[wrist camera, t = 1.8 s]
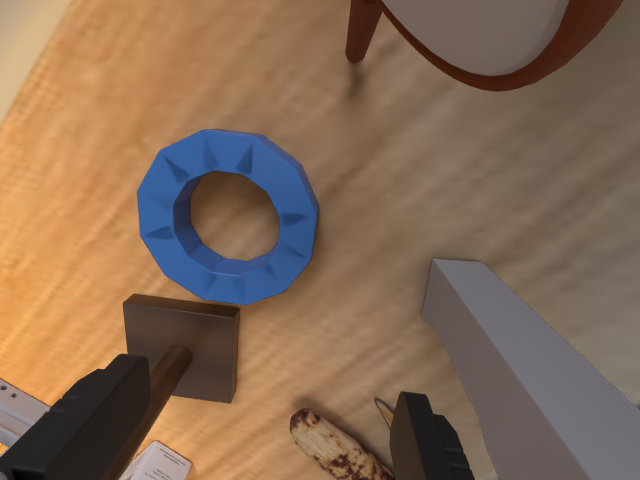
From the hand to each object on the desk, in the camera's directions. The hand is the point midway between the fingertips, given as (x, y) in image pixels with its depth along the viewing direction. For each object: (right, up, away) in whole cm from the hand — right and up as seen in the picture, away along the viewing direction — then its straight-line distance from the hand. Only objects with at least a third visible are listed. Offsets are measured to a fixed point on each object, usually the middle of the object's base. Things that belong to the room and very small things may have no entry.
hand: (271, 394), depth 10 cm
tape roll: (-5, +7, +14) cm, 16 cm away
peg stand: (-10, -4, +18) cm, 21 cm away
